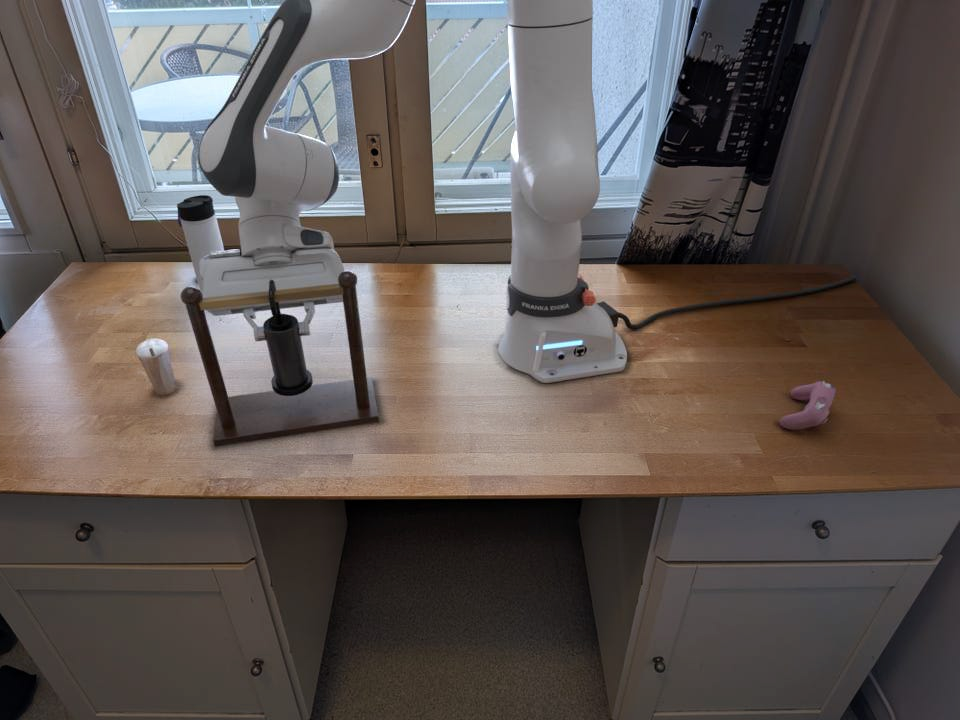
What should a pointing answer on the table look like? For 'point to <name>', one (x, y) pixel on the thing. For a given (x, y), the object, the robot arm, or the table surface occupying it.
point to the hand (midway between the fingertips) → (283, 337)
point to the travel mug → (200, 230)
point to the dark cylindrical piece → (285, 351)
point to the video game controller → (810, 406)
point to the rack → (269, 409)
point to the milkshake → (157, 365)
